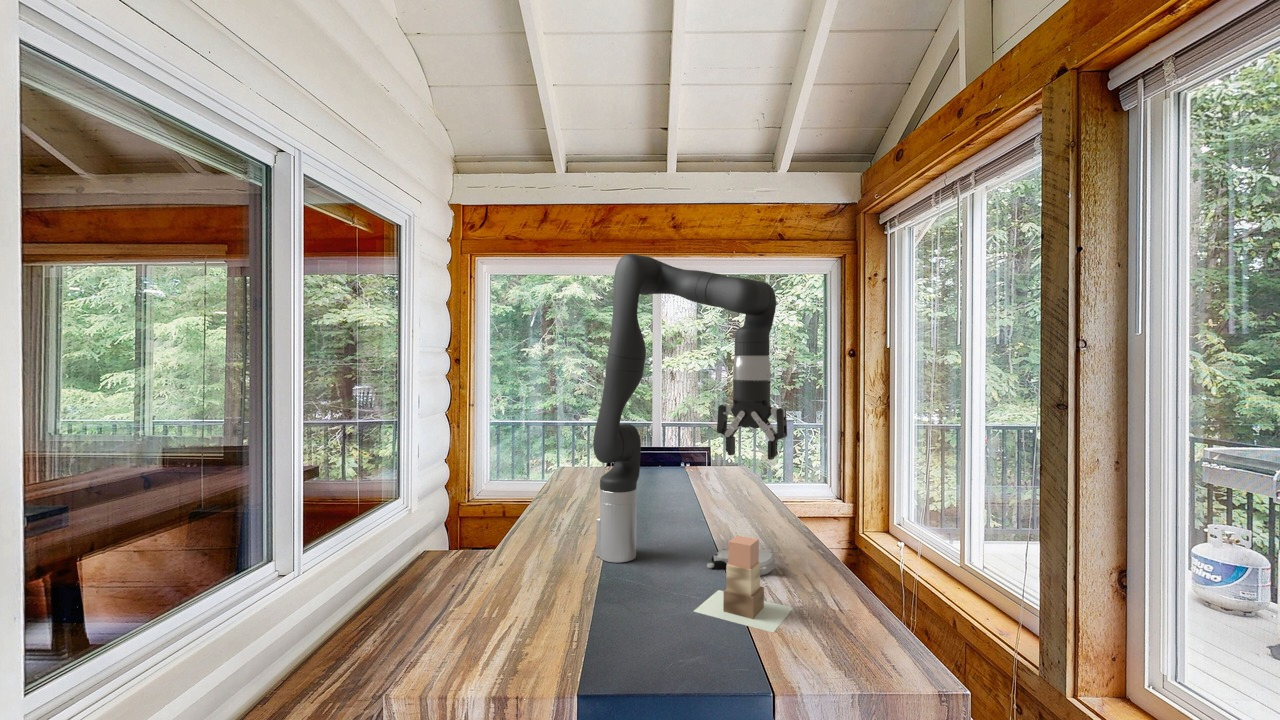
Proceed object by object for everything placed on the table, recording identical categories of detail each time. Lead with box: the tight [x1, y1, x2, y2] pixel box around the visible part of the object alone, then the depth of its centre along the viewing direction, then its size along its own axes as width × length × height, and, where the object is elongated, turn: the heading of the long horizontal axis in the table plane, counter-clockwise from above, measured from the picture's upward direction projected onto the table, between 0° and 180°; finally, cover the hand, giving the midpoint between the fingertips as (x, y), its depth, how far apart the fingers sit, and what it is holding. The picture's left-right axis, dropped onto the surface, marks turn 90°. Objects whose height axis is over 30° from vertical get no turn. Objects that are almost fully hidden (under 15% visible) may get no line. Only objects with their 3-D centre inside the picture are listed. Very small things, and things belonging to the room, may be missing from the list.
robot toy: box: [706, 549, 777, 577], centre depth 136 cm, size 12×4×15 cm
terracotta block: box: [727, 534, 760, 569], centre depth 113 cm, size 4×4×4 cm
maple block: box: [725, 562, 761, 596], centre depth 113 cm, size 5×5×5 cm
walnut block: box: [723, 585, 765, 619], centre depth 113 cm, size 6×6×4 cm
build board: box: [693, 589, 794, 634], centre depth 113 cm, size 16×12×1 cm
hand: (751, 456), depth 118 cm, fingers open, 8 cm apart
